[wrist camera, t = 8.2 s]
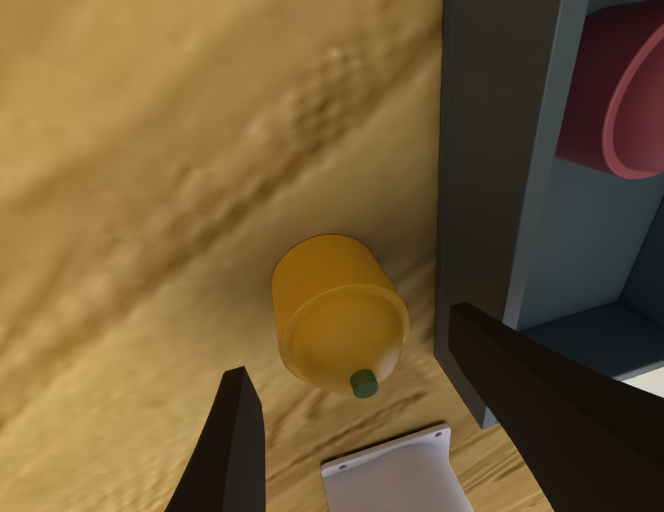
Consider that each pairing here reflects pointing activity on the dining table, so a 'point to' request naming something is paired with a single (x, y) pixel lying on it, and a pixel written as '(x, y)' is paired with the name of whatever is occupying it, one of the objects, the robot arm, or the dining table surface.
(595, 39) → the dark red hollow cup
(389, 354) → the orange rounded piece
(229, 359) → the dining table surface
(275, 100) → the dining table surface
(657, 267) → the tote
